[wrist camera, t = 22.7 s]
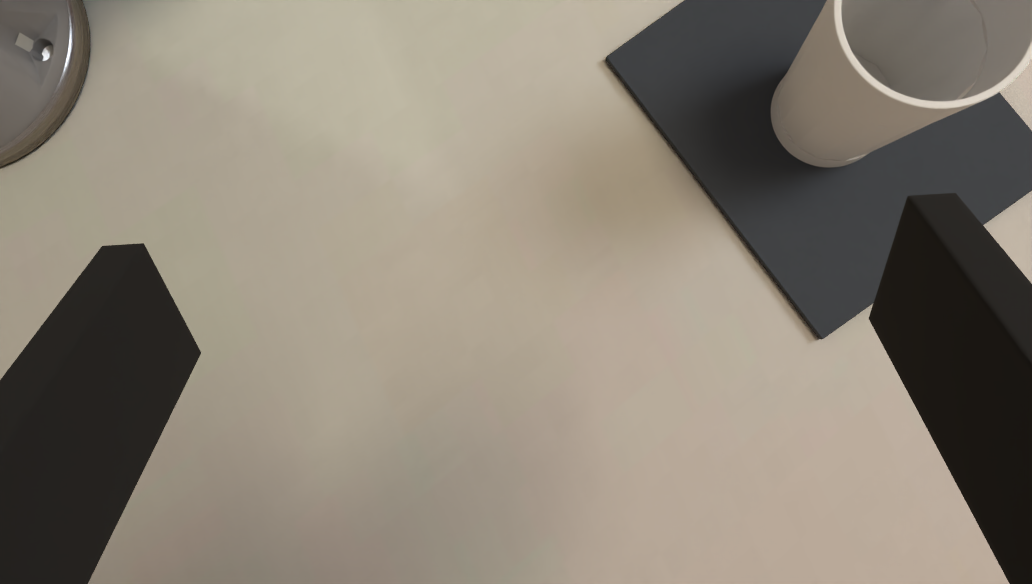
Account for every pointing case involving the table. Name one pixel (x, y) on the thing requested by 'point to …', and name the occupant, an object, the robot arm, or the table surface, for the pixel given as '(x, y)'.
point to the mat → (791, 182)
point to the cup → (894, 71)
